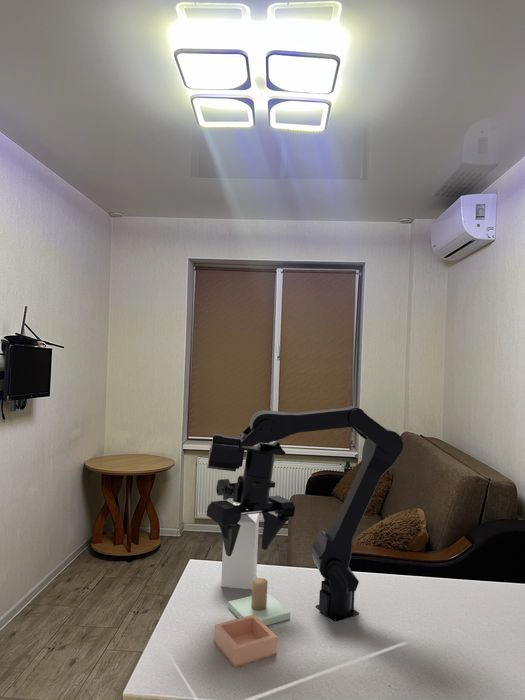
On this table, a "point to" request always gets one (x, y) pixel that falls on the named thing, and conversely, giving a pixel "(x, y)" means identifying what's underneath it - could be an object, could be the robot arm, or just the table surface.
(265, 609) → the lid
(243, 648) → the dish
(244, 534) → the milk carton
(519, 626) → the table surface
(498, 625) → the table surface
